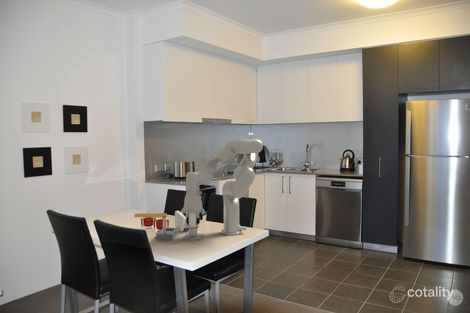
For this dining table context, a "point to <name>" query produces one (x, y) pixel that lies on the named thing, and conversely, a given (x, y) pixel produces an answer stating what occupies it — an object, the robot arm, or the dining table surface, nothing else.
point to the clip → (150, 215)
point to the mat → (193, 237)
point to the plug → (192, 224)
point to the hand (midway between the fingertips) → (192, 224)
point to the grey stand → (167, 232)
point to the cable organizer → (180, 221)
